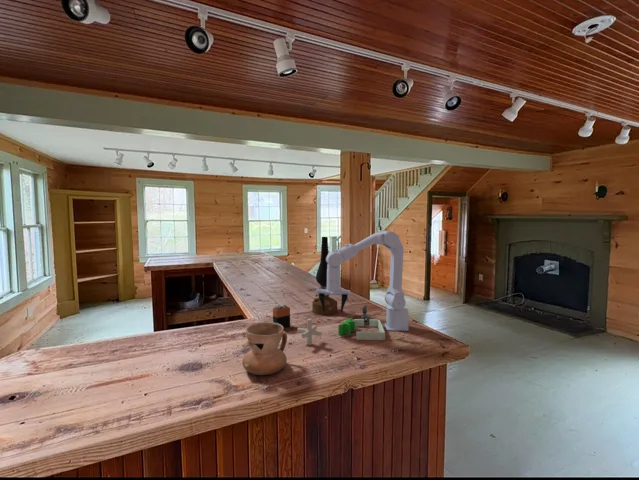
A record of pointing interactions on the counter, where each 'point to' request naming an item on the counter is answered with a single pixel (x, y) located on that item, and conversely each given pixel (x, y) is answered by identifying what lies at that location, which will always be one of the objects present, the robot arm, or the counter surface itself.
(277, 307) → the battery
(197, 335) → the counter surface
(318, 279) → the oil lamp
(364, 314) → the pin mount
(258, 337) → the ceramic jug
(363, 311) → the pin
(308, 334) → the pipe connector
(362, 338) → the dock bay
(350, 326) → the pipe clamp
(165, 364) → the counter surface
